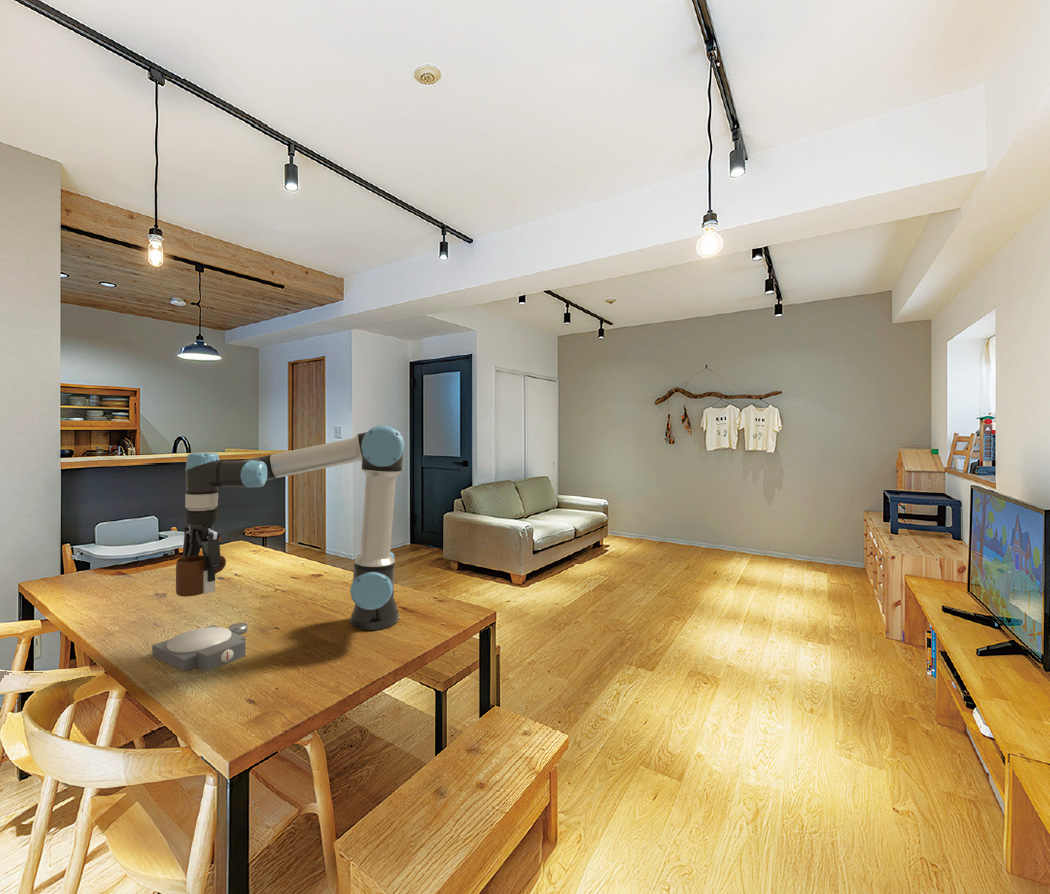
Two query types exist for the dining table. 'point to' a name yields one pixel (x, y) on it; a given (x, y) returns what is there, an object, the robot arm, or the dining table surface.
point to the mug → (192, 575)
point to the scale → (201, 648)
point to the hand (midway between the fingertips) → (200, 589)
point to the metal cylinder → (238, 628)
